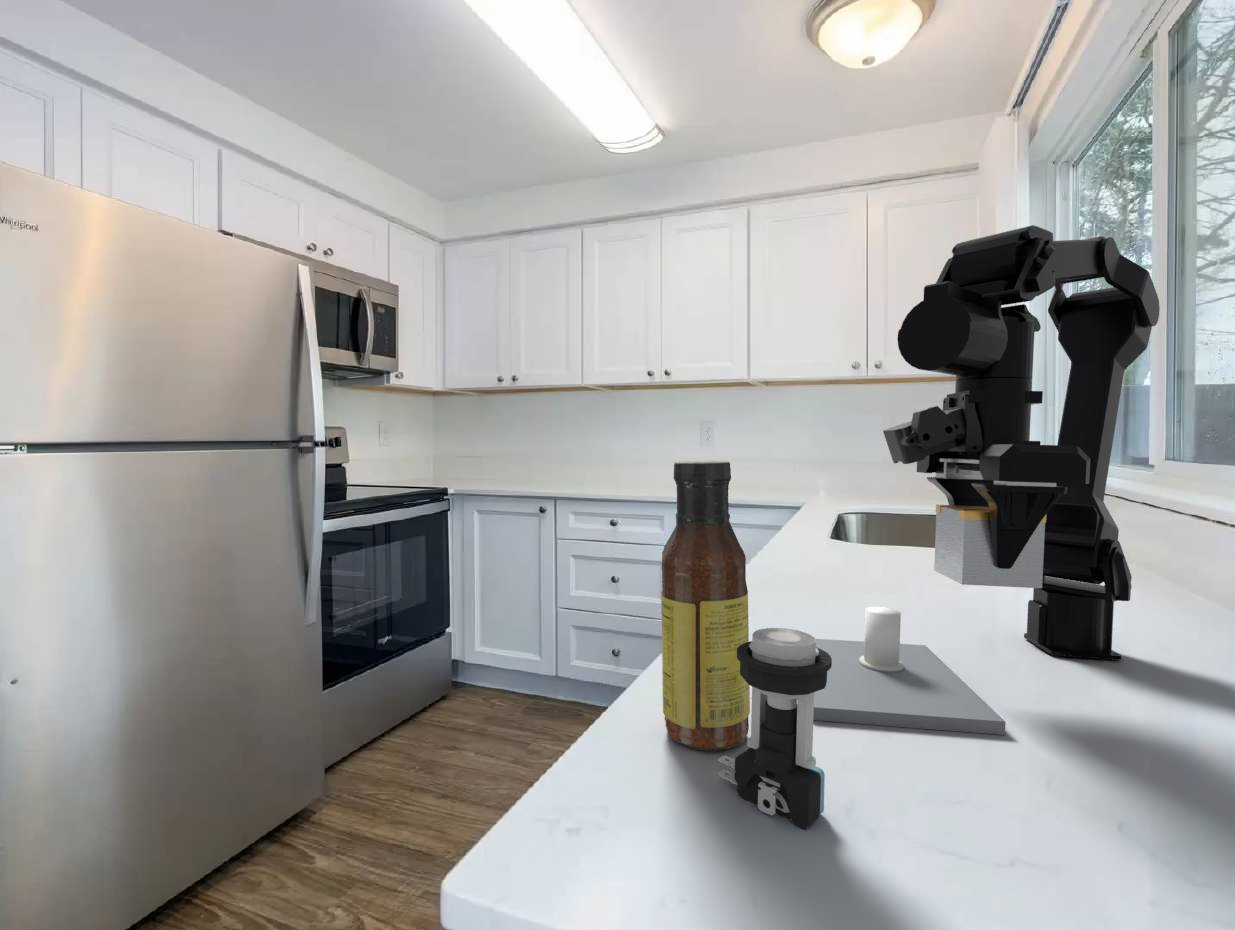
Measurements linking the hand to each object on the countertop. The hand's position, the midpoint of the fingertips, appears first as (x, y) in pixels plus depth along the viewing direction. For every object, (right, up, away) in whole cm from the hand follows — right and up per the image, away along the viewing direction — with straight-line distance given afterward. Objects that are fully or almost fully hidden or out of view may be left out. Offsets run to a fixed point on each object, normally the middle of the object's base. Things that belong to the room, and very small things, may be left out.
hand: (985, 561), depth 56 cm
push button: (-23, -12, -18) cm, 31 cm away
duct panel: (-9, -11, +1) cm, 14 cm away
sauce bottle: (-26, -11, -9) cm, 30 cm away
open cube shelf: (0, -2, 0) cm, 2 cm away
